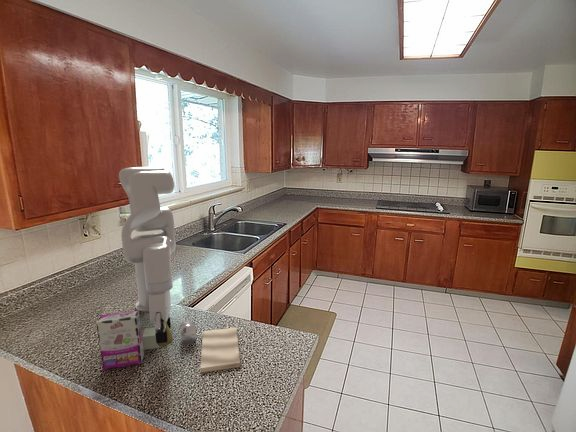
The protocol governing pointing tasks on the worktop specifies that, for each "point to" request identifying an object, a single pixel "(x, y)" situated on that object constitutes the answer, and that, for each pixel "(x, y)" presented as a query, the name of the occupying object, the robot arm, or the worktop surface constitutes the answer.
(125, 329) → the candy bar box
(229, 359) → the birch board
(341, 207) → the worktop surface
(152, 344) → the sage cube
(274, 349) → the worktop surface
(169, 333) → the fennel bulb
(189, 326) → the glass globe
